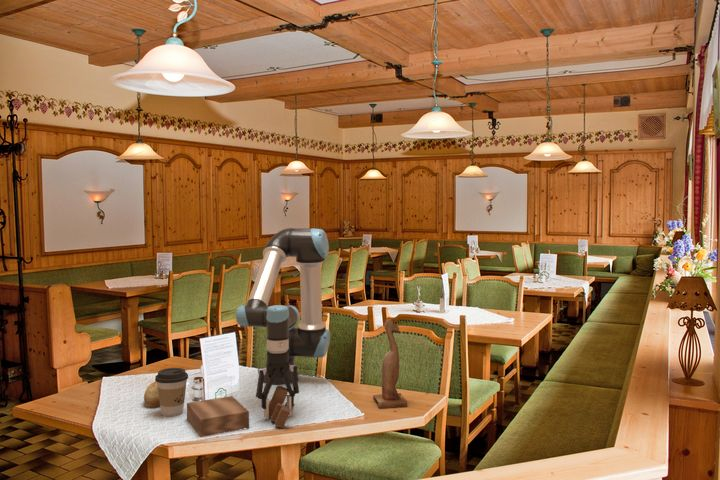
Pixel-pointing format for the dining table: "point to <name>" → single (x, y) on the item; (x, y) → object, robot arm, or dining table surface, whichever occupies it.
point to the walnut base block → (217, 416)
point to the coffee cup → (171, 390)
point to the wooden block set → (279, 407)
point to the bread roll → (152, 395)
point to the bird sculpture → (390, 373)
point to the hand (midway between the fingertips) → (277, 415)
